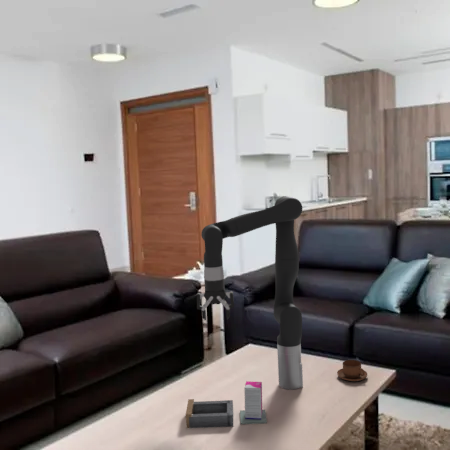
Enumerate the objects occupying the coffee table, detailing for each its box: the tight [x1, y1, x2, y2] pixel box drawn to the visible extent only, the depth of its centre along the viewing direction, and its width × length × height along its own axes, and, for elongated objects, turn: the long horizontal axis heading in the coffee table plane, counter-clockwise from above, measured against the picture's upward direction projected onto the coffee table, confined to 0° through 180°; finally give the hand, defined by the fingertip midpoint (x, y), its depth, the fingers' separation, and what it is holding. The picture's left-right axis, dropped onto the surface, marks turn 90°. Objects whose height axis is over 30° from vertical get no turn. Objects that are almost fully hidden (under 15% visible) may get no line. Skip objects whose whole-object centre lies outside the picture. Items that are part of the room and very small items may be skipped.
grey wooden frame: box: [185, 398, 234, 429], centre depth 184 cm, size 16×12×5 cm
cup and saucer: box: [336, 359, 368, 382], centre depth 214 cm, size 12×12×6 cm
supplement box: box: [244, 380, 263, 420], centre depth 184 cm, size 6×6×12 cm
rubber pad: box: [239, 408, 268, 425], centre depth 184 cm, size 9×9×1 cm
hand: (216, 319), depth 201 cm, fingers open, 8 cm apart
